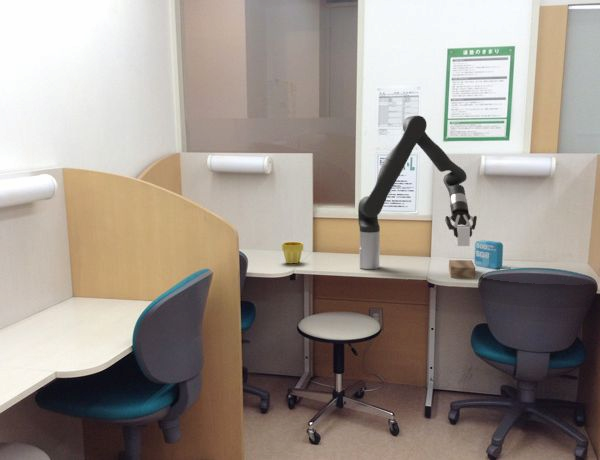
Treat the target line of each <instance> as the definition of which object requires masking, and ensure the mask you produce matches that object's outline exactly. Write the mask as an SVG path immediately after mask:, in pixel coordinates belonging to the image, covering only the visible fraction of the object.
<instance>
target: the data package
mask: <svg viewBox="0 0 600 460" xmlns="http://www.w3.org/2000/svg"><path fill="white" fill-rule="evenodd" d="M503 257H504V245H503V243H502V242H500V241H492V240H486V239H481V240H476V241H475V243H474V263H473V264H474V266H476V267H479V268H480V267H481V268H485V269H486V268H487V269H492V270H498V269H501V268H502V266H503V259H504V258H503Z"/></svg>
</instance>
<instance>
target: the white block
mask: <svg viewBox="0 0 600 460" xmlns="http://www.w3.org/2000/svg"><path fill="white" fill-rule="evenodd" d="M456 228H457V231H458V237H456V236H455V245H456V246H457V247H471V246H470V243H471V242H470V241H471V239H470V238H471V237H470V227H468V226H465V225H457V227H456Z"/></svg>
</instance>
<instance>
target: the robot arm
mask: <svg viewBox="0 0 600 460" xmlns="http://www.w3.org/2000/svg"><path fill="white" fill-rule="evenodd" d="M427 125H428V124H427V121H426V119H425V117H424V116H421V115H412V116H408V117H406V118H405V119H404V120H403V123H402V130H403V134H402V136H401V138H400V139H399V141H398V143H397V144H396V145H395V146H394V147H393V148H392V149H391V150H390V152H389V153H388V154H387V155H386V157H385V159H384V160H383V163H382V164H381V167H380V169H379V171H378V175H377V178H376V181H375V182H376V183H375V185H374V187H373V188H372V191H370V194H369V196H368V195H367V196H364V197H362V198H361V199H360V200H359V202H358V206H357V207H358V209H357V210H358V211H357V212H358V215H357V216H358V218H357V219H358V227H359V269H365V270H377V269H379V268H380V264H381V263H380V249H381V248H380V247H381V246H380V239H381V238H380V236H381V235H380V229H381V227H380V223H379V220H378V217H379V214H380V213H381V212H382V209H383V207H384V205H385V202H386V200H387V198H388V196H389V193H390V192H391V190H392V188H393V187H394V185H395V184H396V182H397V179H398V178H399V177H400V175H401V173H402V171H403V170H404V167H405V166H406V163H407V161H408V160H409V158H410V156H411V154H412V152H413V150H414V148H415V147H416V146H417V145H418V147H420V149H421V150H422V151H423V152H424V153H425V155H426V156H427V157H428V159H430V161H431V162H432V164H433V165H434V166H435V167H436V168H437V170H438V171H439V172H441V173H443V172H447V171H448V173H447V174H445V175H444V176H443V179H442V180H443V183H444V185H445V188H446V189H447V191H448V195H449V207H450V212H451V216H449V215H446V216H445V219H444V220H445V223H446V226H447V228H448V230H450V231H451V230H452V231H453V236H454V237H455V238H456V237H458V231H457V228H456V227H457V226H468V227H470V238H471V237H472V236H473V230H475V229H476V226H477V218H478V216H477V215H474V216H471V214H470V213H469V206H468V199H467V196H466V191H465V188H464V187H465V186H463V185H462V183H464V182H465V181H466V180H467V174H466V171H465V170H464V169H463V168H462V167H460V166H458V164H456V163H455V162H454V161H453V160H451V158H450V157H449V156H448V155H447V154H446V152H445V151H444V150H443V149H442V148H441V147H440V146H439V144H437V143H436V142H434V140H432V138H430V136H429V135H428V134H427V133H426V130H427ZM470 220H471V221H470ZM451 221H453V222H454V224H452V222H451ZM471 222H472V225H471Z"/></svg>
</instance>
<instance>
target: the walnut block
mask: <svg viewBox="0 0 600 460" xmlns="http://www.w3.org/2000/svg"><path fill="white" fill-rule="evenodd" d="M475 266H476V265H475V263H473V260H470V259H469V260H466V259H465V260H464V259H449V260H448V271H449V275H450V278H451V279H470V280H471V279H472V280H473V279H476V267H475Z"/></svg>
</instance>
